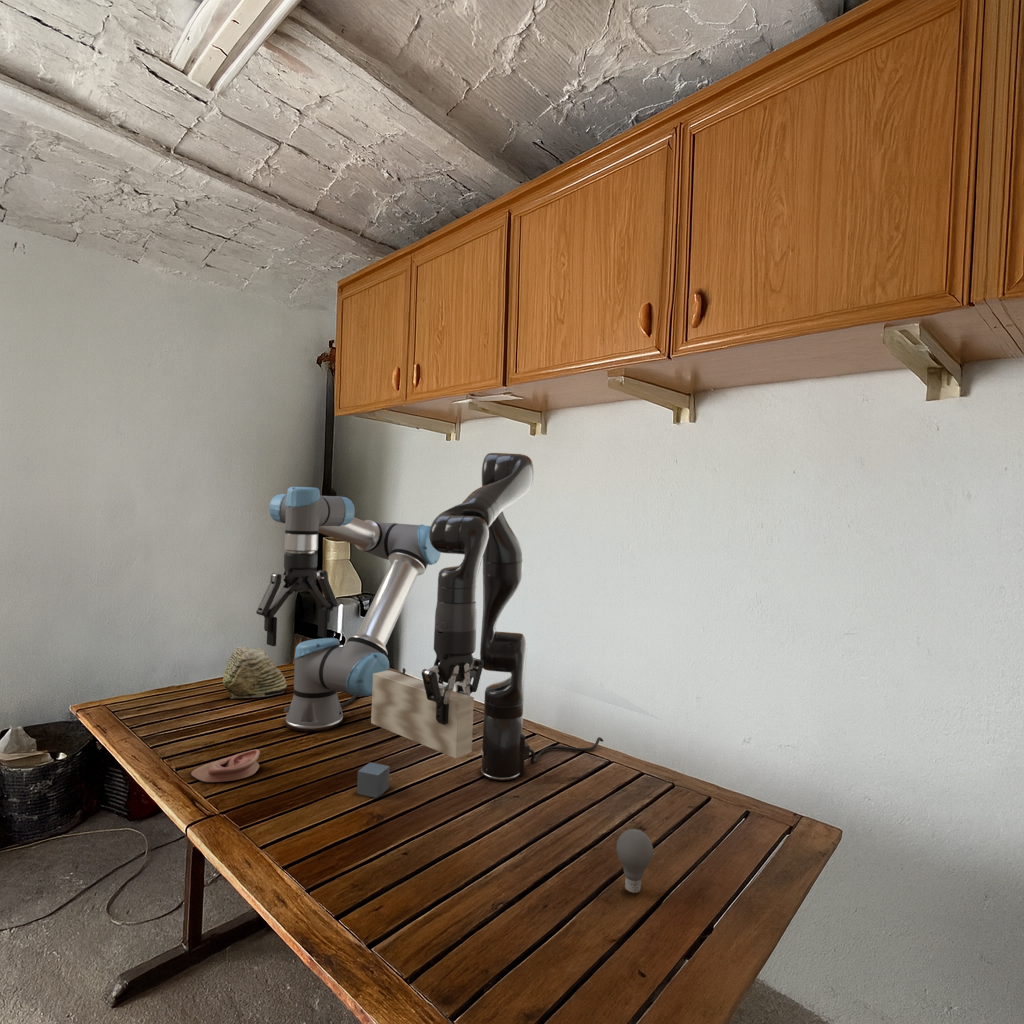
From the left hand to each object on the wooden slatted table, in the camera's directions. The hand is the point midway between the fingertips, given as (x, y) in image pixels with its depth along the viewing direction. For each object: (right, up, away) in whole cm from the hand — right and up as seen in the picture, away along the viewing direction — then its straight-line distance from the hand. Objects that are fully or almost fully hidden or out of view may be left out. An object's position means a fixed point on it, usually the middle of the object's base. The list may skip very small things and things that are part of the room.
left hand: (297, 640), depth 151 cm
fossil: (-30, -27, +47) cm, 62 cm away
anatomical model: (-14, -28, -8) cm, 32 cm away
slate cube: (+21, -30, -13) cm, 39 cm away
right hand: (+40, -7, -36) cm, 55 cm away
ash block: (+33, -12, -31) cm, 47 cm away
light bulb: (+71, -33, -45) cm, 90 cm away
